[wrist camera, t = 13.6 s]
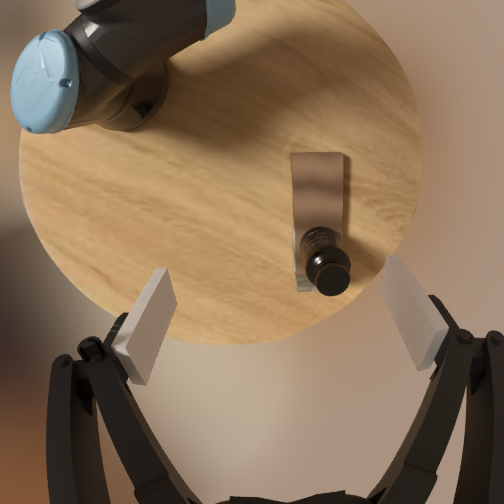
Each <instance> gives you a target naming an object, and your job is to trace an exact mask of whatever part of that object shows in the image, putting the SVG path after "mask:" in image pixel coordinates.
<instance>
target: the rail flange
mask: <svg viewBox="0 0 504 504" xmlns="http://www.w3.org/2000/svg"><path fill="white" fill-rule="evenodd" d="M291 169H292V190H293V217H294V227H293V257H294V271H295V278H296V284H297V291H298V292H310V291H318V289H317V287H316V286H315V285H313V284H312V283H311V282H310V281H309V280H308V278H307V276H306V273H305V269H304V265H303V261H302V257H301V252H300V241H301V238H302V236H303V235H304V234H305V233H306V232H307V231H308V230H309V229H311V228H314V227H319V226H322V227H327V228H329V229H331V230H332V231H334V232H335V234H336V235H337V237H338V238H339V240H340V242H341V244H342V231H343V227H342V216H343V153H341V152H305V153H291Z"/></svg>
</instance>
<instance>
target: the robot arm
mask: <svg viewBox="0 0 504 504" xmlns="http://www.w3.org/2000/svg"><path fill="white" fill-rule="evenodd" d="M74 6H75V8H76V9H77V10H78V11H80V12H81V13H82V14H80V15H79V16H78V17H77V18H76V19H75V20H74V21H73V22H72V23H71V24H69V26H68V27H66V28H65V29H64V30H63V31H61V30H51V31H49V32H46V33H41V34H40V35H38V36H36V37H35V38H34V39H33V40H32V41H31V42H30V43H29V44H28V45H27V46H26V47H25V49H24V50H23V52H22V54H21V55H20V57H19V59H18V61H17V63H16V66H15V69H14V73H13V77H12V85H11V104H12V108H13V112H14V115H15V117H16V119H17V121H18V123H19V124H20V125H21V126H22V127H23V128H24V129H25V130H26V131H28V132H30V133H35V134H45V133H51V134H53V133H58V132H59V131H62V130H66V129H71V128H76V127H81V126H86V125H92V124H97V125H99V126H101V127H103V128H105V129H108V130H114V131H122V130H128V129H132V128H135V127H138V126H140V125H142V124H144V123H145V122H147V121H148V120H149V119H150V118H152V117H153V116H154V115H155V113H156V112H157V111H158V110H159V108H160V107H161V105H162V103H163V101H164V99H165V96H166V93H167V89H168V72H167V68H166V65H165V63H164V61H166V60H167V59H169V58H170V57H172V56H174V55H175V54H177V53H178V52H180V51H182V50H183V49H185V48H187V47H188V46H190V45H192V44H194V43H195V42H197V41H199V40H200V41H203V40H205V39H206V38H207V37H208V36H209V35H210V34H212V33H214V32H215V31H217V30H219V29H221V28H223V27H225V26H226V25H228V24H229V23H230V22H231V21H232V19H233V18H234V16H235V13H236V3H235V0H75V2H74ZM380 295H381V296H382V298H383V300H384V302H385V304H386V306H387V308H388V310H389V312H390V314H391V316H392V318H393V320H394V322H395V324H396V326H397V328H398V330H399V332H400V334H401V336H402V338H403V340H404V342H405V345H406V347H407V349H408V351H409V353H410V355H411V358H412V360H413V362H414V364H415V367H416V369H417V371H421V370H425V369H429V368H430V367H431V365H432V363H433V361H435V363H436V365H437V367H436V369H435V370H434V372H433V374H432V376H431V377H430V380H431V381H430V384H429V386H428V389H427V391H426V394H425V396H424V399H423V402H422V404H421V406H420V408H419V410H418V413H417V415H416V417H415V419H414V421H413V423H412V425H411V428H410V430H409V432H408V434H407V436H406V437H405V439H404V441H403V443H402V445H401V447H400V449H399V451H398V452H397V454H396V456H395V458H394V459H393V461H392V463H391V464H390V466H389V468H388V469H387V471H386V473H385V474H384V476H383V477H382V479H381V480H380V482H379V483H378V484H377V485H376V487H375V488H374V489H373V490H372V491H371V493H370V494H369V495H368V497H367V498H366V499H365V498H363V497H359V496H356V495H349V494H348V495H347V494H345V490H343V491H337V492H330V493H322V494H316V495H313V496H310V497H307V498H304V499H301V500H297V501H294V502H289V503H285V502H279V501H274V500H269V499H264V498H259V497H235V496H230V500H228V501H223V502H219V503H216V504H425V502H426V501H427V499H428V497H429V495H430V493H431V491H432V489H433V487H434V485H435V483H436V481H437V475H436V471H437V468H438V466H439V464H440V462H441V459H442V457H443V455H444V452H445V450H446V447H447V445H448V442H449V440H450V437H451V434H452V431H453V428H454V426H455V423H456V419H457V416H458V413H459V410H460V407H461V403H462V400H463V396H464V392H465V388H466V385H467V402H466V403H467V404H466V424H465V435H464V446H463V453H462V460H461V466H460V472H459V478H458V483H457V488H456V492H455V497H454V502H453V504H504V336H503V334H501V333H500V332H498V331H490V332H488V334H487V335H486V337H485V338H474V336H473V335H472V334H471V333H470V332H469V331H467V330H465V329H459V327H458V325H457V324H456V322H455V321H454V319H453V318H452V316H451V315H450V313H448V310H447V309H446V308H445V307H444V305H443V303H442V302H441V301H440V300H439V299H438V298H437V297H435V296H434V295H427V294H426V293H425V291H424V290H423V288H422V287H421V286H420V284H419V283H418V281H417V280H416V279H415V277H414V276H413V275H412V273H411V272H410V271H409V269H408V268H407V267H406V265H405V264H404V263H403V261H402V260H401V259H400V258H399V256H398V255H386V259H385V265H384V271H383V277H382V283H381V288H380ZM176 306H177V301H176V298H175V294H174V291H173V287H172V284H171V280H170V277H169V273H168V269H167V268H156V269H155V270H154V272H153V274H152V275H151V277H150V279H149V280H148V282H147V283H146V285H145V287H144V288H143V290H142V292H141V294H140V295H139V297H138V299H137V300H136V302H135V304H134V305H133V307H132V309H131V311H130V312H129V313H125V312H124V313H123V314H122V315H120V316H119V317H118V318H117V320H116V321H115V323H114V325H113V326H112V328H111V330H110V332H109V333H108V335H107V337H106V339H105V340H104V342H103V343H102V342H101V340H100V339H99V338H98V337H95V336H94V337H92V336H91V337H88V338H86V339H84V340H82V341H81V342H80V344H79V346H78V347H77V351H78V353H79V355H80V356H81V358H82V359H83V360H77V361H74V360H73V358H72V357H71V356H70V355H68V354H63V355H60V356H59V357H57V358H56V359H55V360H54V362H53V364H52V369H51V376H50V384H49V395H48V406H47V423H46V425H47V427H46V462H47V479H48V489H49V498H50V504H111V502H110V498H109V494H108V489H107V484H106V479H105V474H104V468H103V462H102V456H101V448H100V441H99V432H98V421H97V408H96V401H97V404H98V406H99V409H100V412H101V415H102V417H103V420H104V423H105V425H106V428H107V430H108V433H109V435H110V437H111V439H112V442H113V444H114V446H115V449H116V451H117V453H118V455H119V457H120V459H121V462H122V464H123V466H124V467H125V470H126V472H127V474H128V476H129V477H130V479H131V481H132V483H133V485H134V487H135V490H134V495H135V497H136V499H137V501H138V503H139V504H202V502H201V501H200V500H199V499H198V498H197V496H196V495H195V494H194V493H193V492H192V491H191V490H190V489H189V487H188V486H187V485H186V483H185V482H184V480H183V479H182V478H181V476H180V475H179V473H178V472H177V470H176V469H175V467H174V466H173V464H172V463H171V462H170V460H169V459H168V457H167V455H166V454H165V452H164V450H163V449H162V447H161V446H160V444H159V442H158V441H157V439H156V437H155V436H154V434H153V432H152V431H151V429H150V427H149V425H148V423H147V422H146V420H145V418H144V416H143V414H142V412H141V410H140V408H139V407H138V405H137V403H136V401H135V399H134V397H133V395H132V393H131V391H130V388H129V386H128V385H127V383H126V382H127V380H128V377H129V378H130V380H131V381H132V383H133V384H138V385H147V382H148V379H149V377H150V374H151V371H152V368H153V366H154V363H155V360H156V358H157V355H158V352H159V349H160V347H161V344H162V341H163V339H164V336H165V334H166V331H167V329H168V326H169V324H170V321H171V319H172V316H173V314H174V311H175V309H176Z"/></svg>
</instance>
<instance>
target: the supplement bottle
mask: <svg viewBox="0 0 504 504" xmlns="http://www.w3.org/2000/svg"><path fill="white" fill-rule="evenodd" d="M300 252H301V257H302V261H303V265H304V269H305V273H306V276H307V278H308V280H309V281H310V282H311V283H312V284H313V285H315V286H316V287H317V289H318V291H319V292H320V293H322V294H324V295H325V296H336V295H339V294H341V293H342V292H344V291H345V290H346V288H348V285H349V283H350V274H349V272H350V267H351V263H350V259H349V256H348V254H347V253H346V251H345V249H344V247H343V245H342V244H341V242H340V240H339V238H338V237H337V235H336V234H335V232H334V231H332V230H331V229H329V228H327V227H322V226H319V227H314V228H311V229H309V230H308V231H307V232H306V233H305V234H304V235H303V236H302V238H301V241H300Z"/></svg>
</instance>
